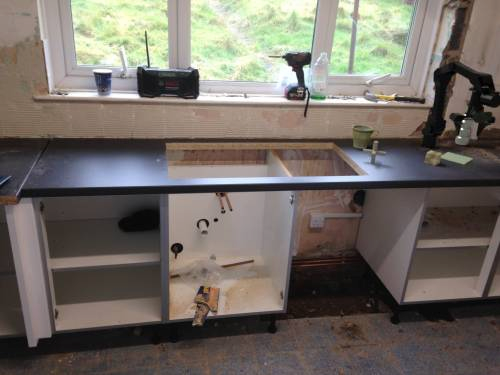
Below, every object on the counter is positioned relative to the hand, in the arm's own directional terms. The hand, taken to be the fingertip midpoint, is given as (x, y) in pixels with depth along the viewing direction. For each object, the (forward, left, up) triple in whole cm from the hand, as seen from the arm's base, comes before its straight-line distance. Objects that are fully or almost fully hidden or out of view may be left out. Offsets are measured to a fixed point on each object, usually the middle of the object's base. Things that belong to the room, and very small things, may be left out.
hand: (467, 136), depth 195 cm
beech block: (-8, -12, -13) cm, 20 cm away
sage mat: (-3, +4, -13) cm, 14 cm away
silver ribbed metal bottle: (-10, +30, -13) cm, 34 cm away
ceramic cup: (-41, -18, -13) cm, 47 cm away
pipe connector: (-26, -35, -13) cm, 46 cm away
